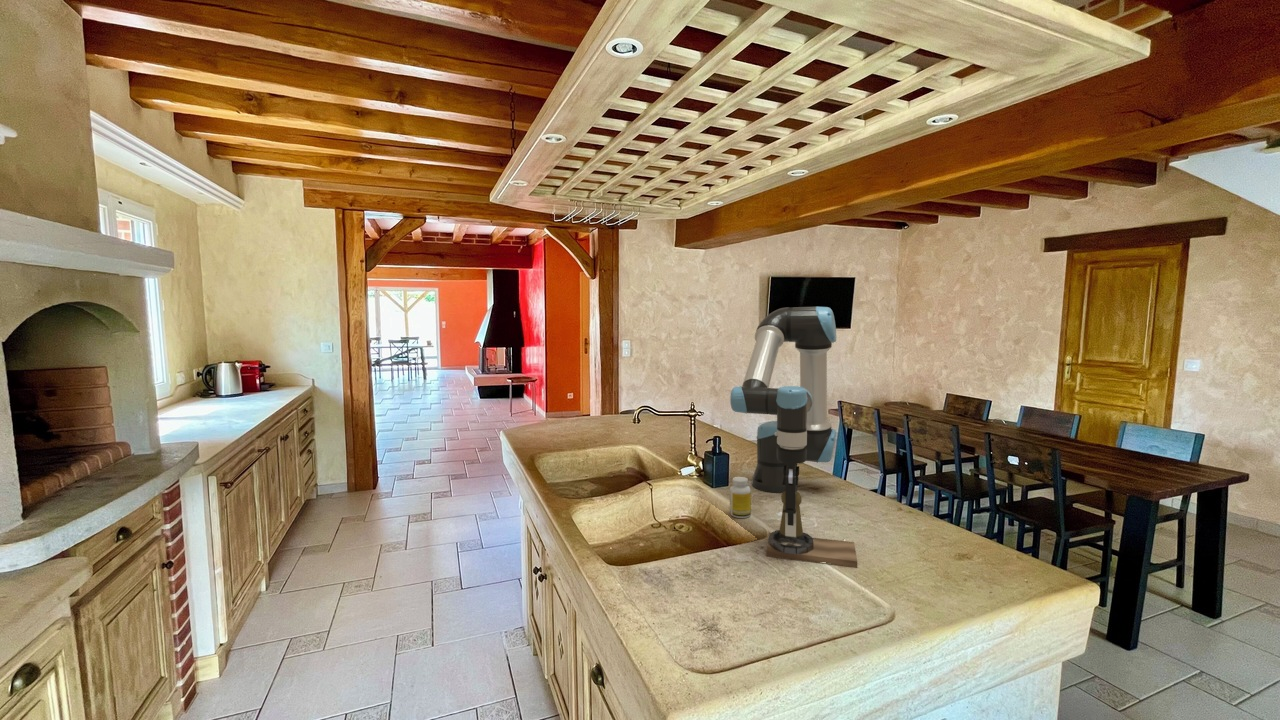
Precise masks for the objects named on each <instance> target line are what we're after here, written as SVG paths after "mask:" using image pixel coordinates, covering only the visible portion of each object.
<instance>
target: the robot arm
mask: <svg viewBox="0 0 1280 720" xmlns="http://www.w3.org/2000/svg"><path fill="white" fill-rule="evenodd" d="M754 340H755V344H754V347H753V350H752V353H751V357H750V360H749V362H748V367H747V369H746V372H745V376H744V379H743V382H742V385H739V386H734V387H733V388H732V389H731V391H730V407H731V409H732V411H733V412H734V413H742V414H754V415H755V414H756V415H771V416H776V420H775V421H773V420H772V421H767V422H764V423H761V424H759V426H758V427H757V431H756V459H757V460H756V466H755V469H754V473H753V476H752V478H751V479H752V481H751V484H752V486H753V487H754V488H755V489H757V490H760V491H762V490H763V492H768V493H783V492H785V491H786V496H785V510H783V509H782V510H783V512H785V536H791V537H796V492H798V490H797V486H798V485H799V475H800V466H798V464H804V463H806V462H813V463H817V464H818V463H829V462H831V461H832V457H833V453H834V447H835V441H836V434H837V431H836V429H834V428H832V423H831V422H830V421H829V420H828V417H827V415H828V414H827V413H828V407H827V405H828V403H827V402H828V401H827V399H828V398H827V397H828V395H827V394H828V393H827V392H828V388H827V387H828V386H827V385H828V384H827V383H828V378H827V377H828V376H827V375H828V373H827V372H828V369H827V368H828V366H827V365H828V360H827V359H828V357H827V356H828V354H827V353H828V352H829V351H830V350H831V349H832V347H833V346H832V343H837V342H836V341H837V327H836V320H835V315H834V312H833V310H832V309H831V307H828V306H798V307H797V306H796V307H794V306H793V307H781V308H778V309H776V310H774V311H772V312H771V313H769V314H768V315H766V316H765V317H764V318H763V320H762V321H760V323H759V324H758V326H757V327H756V330H755V334H754ZM785 342H786V343H788V342H789V343H795V344H794V345H795V346H794V347H795V349H796V350H797V351H798V352H799V377H800V379H799V383H800V384H799V386H796V385H785V386H781V387H778V388H777V387H774V388H773V387H770V385H771V384H770V383H771V380H772V376H773V372H774V369H775V364H776V360H777V356H778V352H779V348H780V347H781V346H783V344H784V343H785Z"/></svg>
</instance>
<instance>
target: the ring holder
mask: <svg viewBox="0 0 1280 720" xmlns="http://www.w3.org/2000/svg"><path fill="white" fill-rule="evenodd" d="M769 533H770V534H768V538H769V545H770V546H771V547H772V548H773V549H775V550H778V551H780V552H783V553H789V554H803V553H808V552H810V551H811V550H813V547H814V539H813V538H814V537H813V536H811V535H810V534H808V533H807V532H806V533H805V532H803V534H802V535H801V536H798V537H789V536H785V535H783V534H781V533H780V529H776V530H774V531H772V532H769Z"/></svg>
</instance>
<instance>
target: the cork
mask: <svg viewBox="0 0 1280 720" xmlns="http://www.w3.org/2000/svg"><path fill="white" fill-rule="evenodd" d="M785 496H786V491H785V492H781V498H780V499H781V502H782V511H781V512H782V513H781V518H780V525H779V530H780V533H781V534H783V535H785V512H783V510H785ZM802 499H803V498H802V495H801V493H800V492H799V491H797V492H796V537H798V536H801V535H802V534H803V523H802V516H801V507H800V505H801V504H802ZM789 537H791V536H789Z"/></svg>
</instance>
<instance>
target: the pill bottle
mask: <svg viewBox="0 0 1280 720" xmlns="http://www.w3.org/2000/svg"><path fill="white" fill-rule="evenodd" d="M748 482H749V480H748V477H745V476H734V477H733V478H732V485H731V486H730V488H729V513H730V515H731V516H732V517H734V518H737V519H746V518H747V519H748V518H749V517H750V516H751V515H752V491H751V490H752V489H751V488H750V486H749V485H748V484H749V483H748Z"/></svg>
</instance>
